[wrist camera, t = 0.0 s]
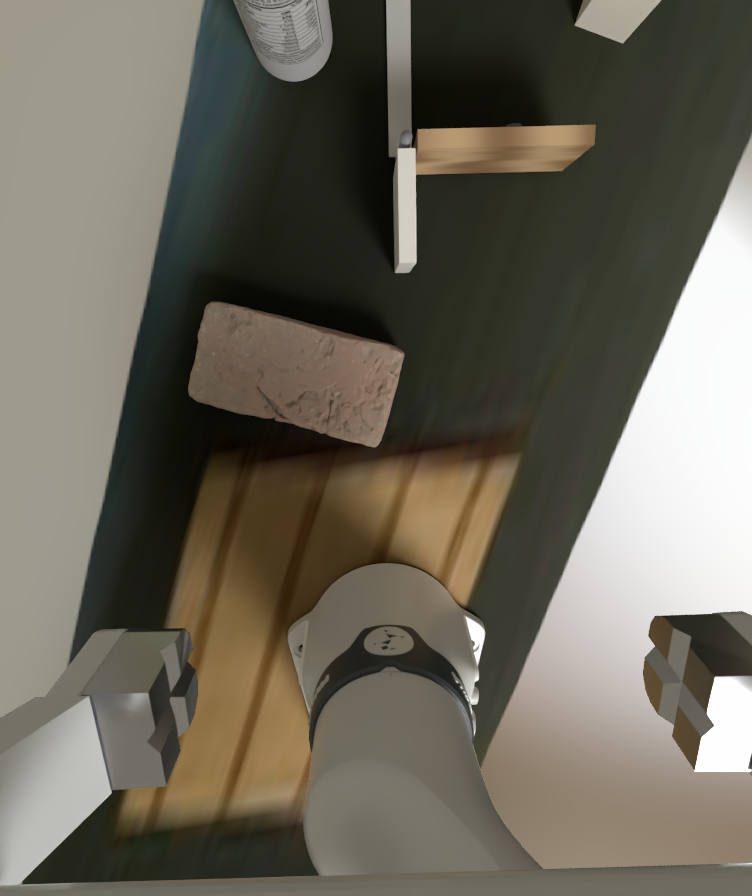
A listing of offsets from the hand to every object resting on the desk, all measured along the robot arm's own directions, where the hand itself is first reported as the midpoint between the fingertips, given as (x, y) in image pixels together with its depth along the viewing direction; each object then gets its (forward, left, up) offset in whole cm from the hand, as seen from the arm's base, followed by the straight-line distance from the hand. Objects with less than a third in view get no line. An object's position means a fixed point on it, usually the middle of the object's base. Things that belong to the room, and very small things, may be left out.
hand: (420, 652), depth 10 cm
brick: (+2, +7, -39) cm, 40 cm away
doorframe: (+24, -2, -39) cm, 46 cm away
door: (+18, -9, -38) cm, 43 cm away
